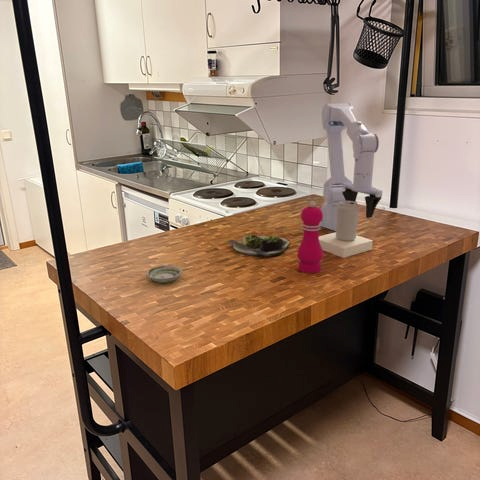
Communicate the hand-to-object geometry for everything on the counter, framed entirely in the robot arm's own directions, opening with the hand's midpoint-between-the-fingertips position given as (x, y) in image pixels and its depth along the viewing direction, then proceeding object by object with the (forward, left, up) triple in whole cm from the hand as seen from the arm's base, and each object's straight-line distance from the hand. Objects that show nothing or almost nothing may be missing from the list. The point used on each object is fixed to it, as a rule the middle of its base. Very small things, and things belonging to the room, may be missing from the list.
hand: (359, 214), depth 153 cm
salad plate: (-15, -28, -10) cm, 34 cm away
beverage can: (0, -6, -7) cm, 10 cm away
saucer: (-11, -65, -10) cm, 67 cm away
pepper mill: (+7, -28, -10) cm, 31 cm away
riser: (0, -7, -10) cm, 12 cm away
